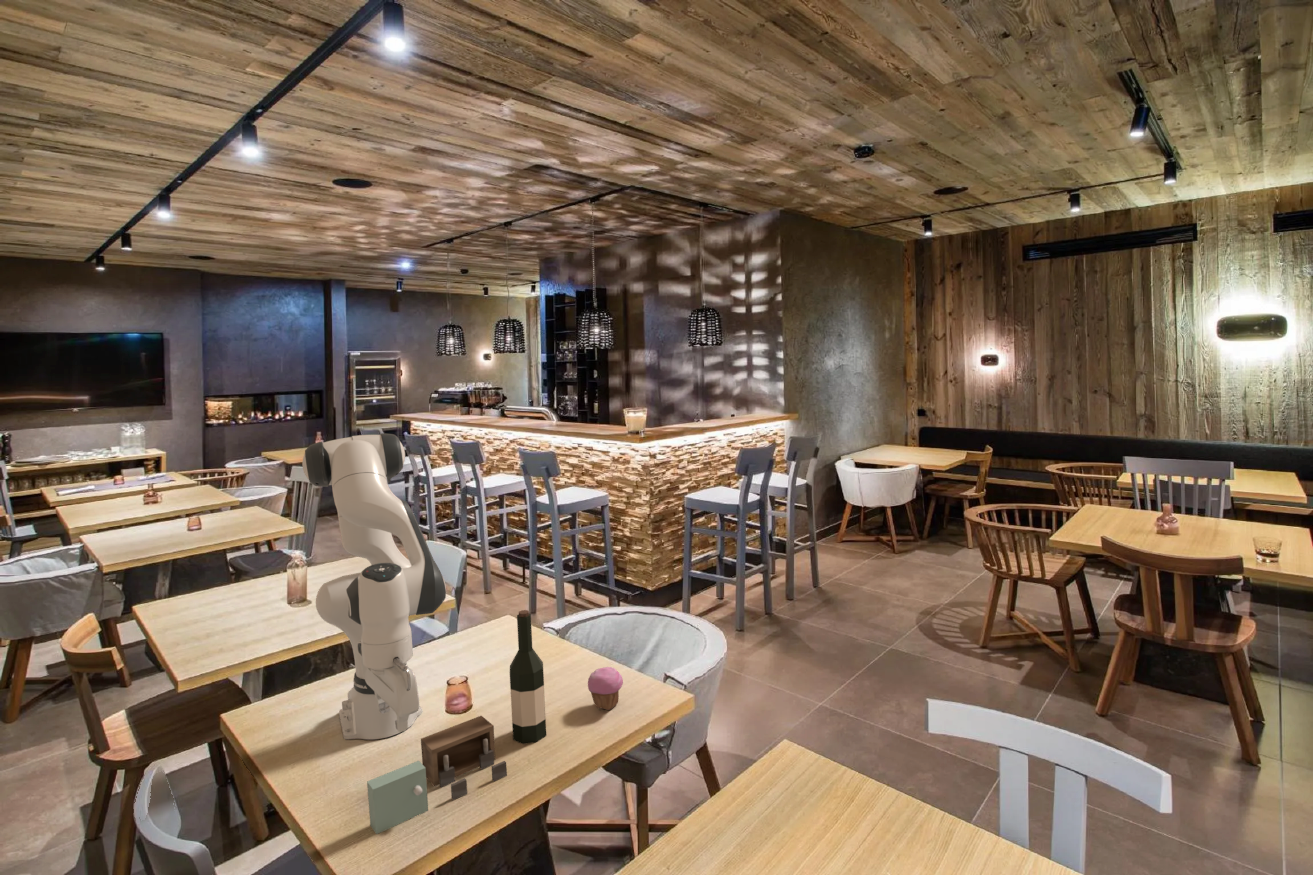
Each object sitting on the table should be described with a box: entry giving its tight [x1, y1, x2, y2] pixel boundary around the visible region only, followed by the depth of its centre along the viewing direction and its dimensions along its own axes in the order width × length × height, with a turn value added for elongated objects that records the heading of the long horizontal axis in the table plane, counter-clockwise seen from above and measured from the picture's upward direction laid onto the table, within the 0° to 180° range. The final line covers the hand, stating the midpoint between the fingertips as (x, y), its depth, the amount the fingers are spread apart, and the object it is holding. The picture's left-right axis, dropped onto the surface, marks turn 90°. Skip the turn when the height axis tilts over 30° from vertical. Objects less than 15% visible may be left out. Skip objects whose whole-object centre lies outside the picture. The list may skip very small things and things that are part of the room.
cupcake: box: [587, 666, 624, 711], centre depth 171 cm, size 9×9×10 cm
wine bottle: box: [509, 609, 547, 745], centre depth 158 cm, size 8×8×30 cm
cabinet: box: [420, 715, 508, 801], centre depth 144 cm, size 13×14×8 cm
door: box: [366, 760, 429, 835], centre depth 130 cm, size 5×10×9 cm, turn 131°
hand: (392, 720), depth 128 cm, fingers open, 8 cm apart
